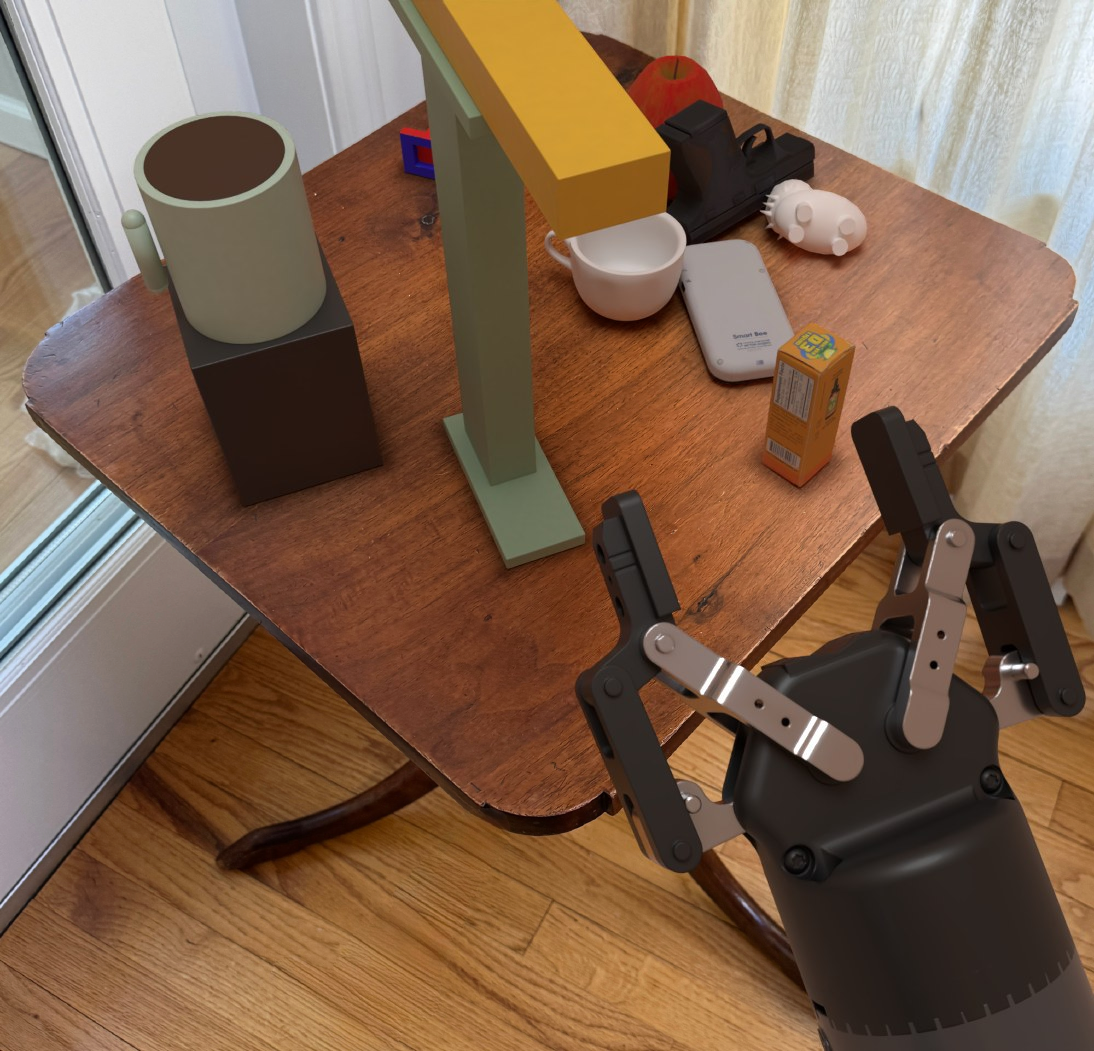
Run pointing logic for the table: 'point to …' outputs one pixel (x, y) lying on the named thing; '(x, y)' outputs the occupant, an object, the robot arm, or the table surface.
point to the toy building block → (417, 152)
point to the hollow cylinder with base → (253, 302)
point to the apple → (672, 93)
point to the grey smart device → (733, 310)
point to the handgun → (726, 168)
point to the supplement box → (806, 402)
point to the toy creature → (814, 218)
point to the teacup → (626, 266)
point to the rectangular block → (554, 111)
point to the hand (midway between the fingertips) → (747, 454)
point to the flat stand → (489, 318)
